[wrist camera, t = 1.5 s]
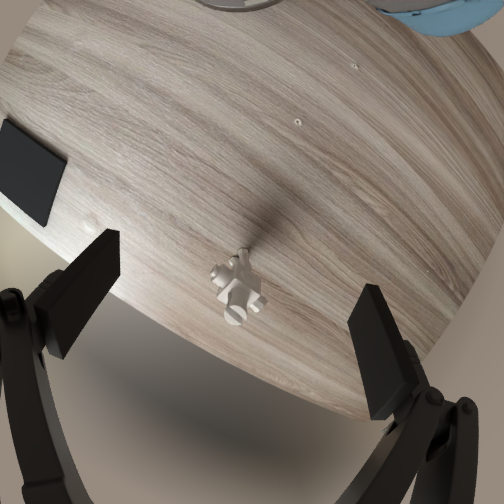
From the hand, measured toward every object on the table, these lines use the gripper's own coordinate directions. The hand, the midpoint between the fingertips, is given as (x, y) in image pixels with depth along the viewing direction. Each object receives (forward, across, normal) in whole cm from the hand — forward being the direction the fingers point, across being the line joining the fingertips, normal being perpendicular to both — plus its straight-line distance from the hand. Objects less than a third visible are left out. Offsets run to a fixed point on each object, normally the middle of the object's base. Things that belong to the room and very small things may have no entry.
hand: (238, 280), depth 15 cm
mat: (+23, -37, -5) cm, 43 cm away
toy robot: (+23, +1, -12) cm, 26 cm away
